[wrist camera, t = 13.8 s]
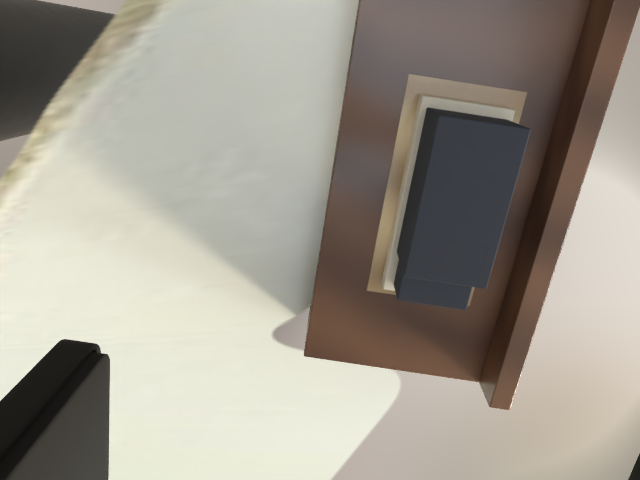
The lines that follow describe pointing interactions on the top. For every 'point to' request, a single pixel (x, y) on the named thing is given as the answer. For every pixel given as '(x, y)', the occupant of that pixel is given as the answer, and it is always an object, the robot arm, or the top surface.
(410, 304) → the wooden bench
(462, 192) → the stepped dark grey block
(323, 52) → the top surface
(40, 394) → the robot arm
